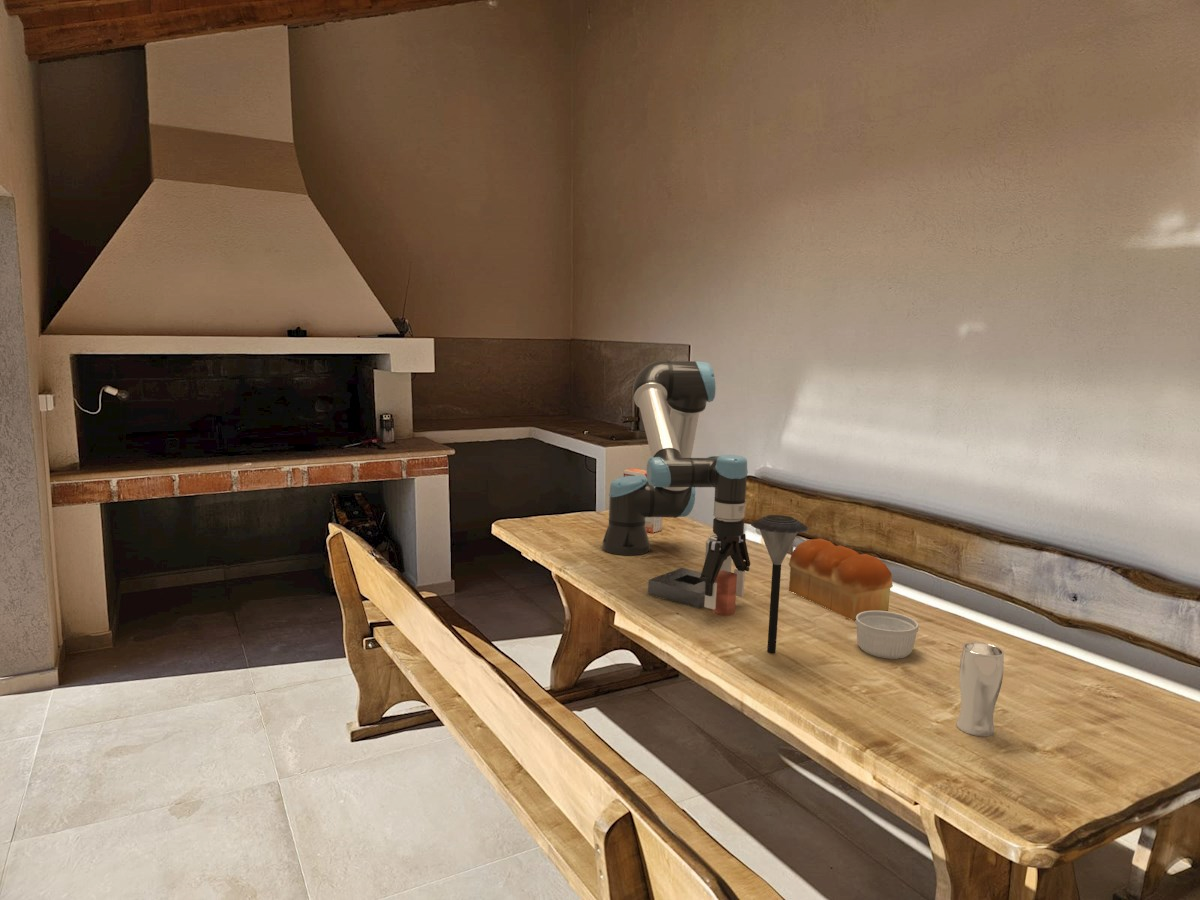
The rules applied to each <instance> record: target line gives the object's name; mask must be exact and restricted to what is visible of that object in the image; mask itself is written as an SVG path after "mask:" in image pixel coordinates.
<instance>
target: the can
mask: <svg viewBox="0 0 1200 900" xmlns="http://www.w3.org/2000/svg"><path fill="white" fill-rule="evenodd" d="M716 540H717V535H716V534H714V533H713V534H710V535H708V539H706V541H705V551H704V553H705V554H704V555H705V557H704V561H705V560H706V556H707V553H708V548H709V542H710V541H714V542H716ZM732 562H733V560H732V558H731V556H728V557H727V559H726V560H724V562H723V564H722V566H721V569H720V571H728V572H732ZM720 571H719V572H720Z"/></svg>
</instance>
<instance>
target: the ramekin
mask: <svg viewBox="0 0 1200 900" xmlns="http://www.w3.org/2000/svg"><path fill="white" fill-rule="evenodd" d="M854 621H855V626H856V641H857V645H858V646H859V648H860V649H861V651H863V652H865V653H866V654H868V655H871V656H872V657H873V656H874V657H878V658H883V659H889V660H890V659H891V660H892V659H893V660H895V659H897V660H898V659H899V658H900V659H903V658H907V657H908V656H909V655H911V653H912V651H913V650H914V647H915V642H916V636H917V633H918V632H919V624H918V621H916V620H915V619H913V618H912V617H909V616H907V615H904V614H901V613H898V612H893V611H889V610H888V611H865V612H861V613H859V614H857V616H856V620H854Z"/></svg>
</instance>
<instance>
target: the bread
mask: <svg viewBox="0 0 1200 900" xmlns="http://www.w3.org/2000/svg"><path fill="white" fill-rule="evenodd" d="M788 566H789V568H790V569H789V587H788V592H789V591H791V592H794V593H796V594H797V595H796V594H795V595H796V596H798V595H800V596H802V597H804V598H803V599H805V598H806V599H805V600H807V599H808V600H807V601H809V600H811V601H813V602H815V603H814V604H816V603H817V604H816V605H818V604H820V605H822V606H824V607H823V608H825V607H826V608H825V609H827V608H828V609H827V610H829V609H830V610H829V611H831V610H832V611H831V612H834V613H836V614H838V615H840V614H841V615H840V616H842V617H845V618H847V619H849V618H850V620H851V619H852V621H855V620H854V619H856V616H857V614H859V613H861V612H865V611H888V612H889V610H890V609H889V606H890V596H891V589H892V588H893V585H894V584H893V578H892V577H893V576H892V572H891V570H890V569H889V567H888V566H887V565H886V564H885V563H884V562H883V561H882V560H881V559H879V557H875V556H873V555H870V554H868V553H863V554H862V553H861V554H860V553H859V552H858V551H856V550H854V549H851V548H849V547H846V546H843V545H841V544H840V545H835V544H834V543H832V542H831V541H830V540H826V539H823V538H822V537H821V538H813V539H806V540H804V541H802V542H801V543H800V544H797V546H796V547H795V548H794V549H793V551H792V552H791V555H790V559H789V563H788ZM791 592H790V593H791ZM800 596H799V597H800ZM802 597H801V598H802ZM811 601H810V602H811ZM813 602H812V603H813ZM820 605H819V606H820ZM822 606H821V607H822Z"/></svg>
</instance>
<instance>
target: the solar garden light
mask: <svg viewBox="0 0 1200 900" xmlns="http://www.w3.org/2000/svg"><path fill="white" fill-rule="evenodd" d="M750 526H751V527H753V528H755V529H757V530H759V532H760V534H761V537H762V539H763V540H762V541H763V542H764V544H765V547H766V550H767V553H768V555H769V558H770V560H771V563H772V568H771V586H770V602H769V617H768V618H769V619H768V630H767V631H768V632H767V633H768V635H767V647H766V648H767V650H766V651H767V653H768V654H776V652H777V651H776V650H777V637H778V636H777V635H778V621H779V607H780V606H779V605H780V590H781V589H780V588H781V576H782V574H781V572H782V563H783V562H784V560H785V557H786V556H787V554H788V552H789V551H790V548H791V546H792V544H793V543H794V541H795V539H796V537H797V535H798V534H800V533H805V532H807V531H809V527H808V526H807V525H805V524H804V523H802V522H801V521H799V520H798V519H796V518H794V517H792V516H788V515H782V514H769V515H766V516H763V517H761V518H759V519H756V520H755V521H753V522H750Z"/></svg>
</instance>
